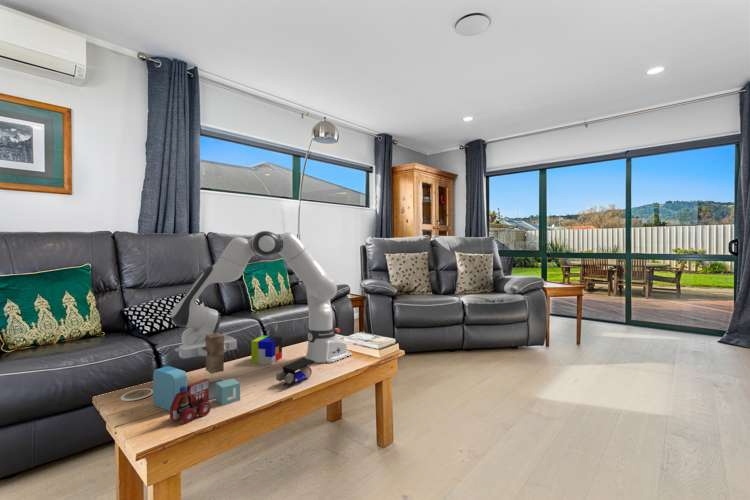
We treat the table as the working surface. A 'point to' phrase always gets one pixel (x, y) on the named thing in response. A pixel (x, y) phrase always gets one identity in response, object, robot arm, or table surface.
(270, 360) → the puzzle toy
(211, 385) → the mat
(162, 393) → the data package
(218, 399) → the letter cube
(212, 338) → the walnut block
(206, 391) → the toy fire truck
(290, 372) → the toy car
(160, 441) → the table surface
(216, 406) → the table surface
